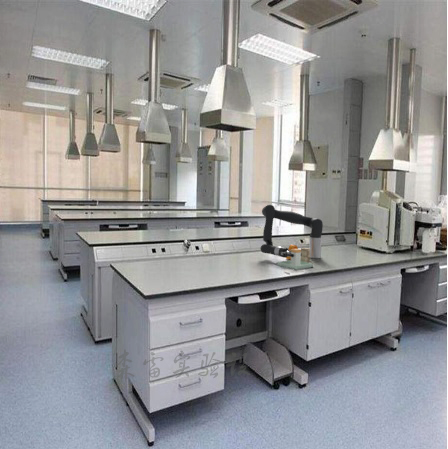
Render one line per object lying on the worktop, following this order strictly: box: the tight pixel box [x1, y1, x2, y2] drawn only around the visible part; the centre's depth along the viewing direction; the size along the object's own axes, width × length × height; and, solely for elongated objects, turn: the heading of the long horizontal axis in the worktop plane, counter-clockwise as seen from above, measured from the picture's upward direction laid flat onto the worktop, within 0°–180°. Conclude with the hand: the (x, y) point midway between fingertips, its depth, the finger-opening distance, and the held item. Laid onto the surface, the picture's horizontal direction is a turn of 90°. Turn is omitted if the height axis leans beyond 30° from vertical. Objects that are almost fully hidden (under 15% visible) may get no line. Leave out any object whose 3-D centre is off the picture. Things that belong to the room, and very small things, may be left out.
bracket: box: [285, 244, 299, 260], centre depth 301 cm, size 11×7×12 cm, turn 117°
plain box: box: [300, 247, 311, 263], centre depth 284 cm, size 5×5×12 cm
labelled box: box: [291, 248, 301, 266], centre depth 273 cm, size 5×5×12 cm
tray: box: [277, 259, 314, 271], centre depth 273 cm, size 18×18×3 cm
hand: (297, 255), depth 271 cm, fingers open, 8 cm apart
